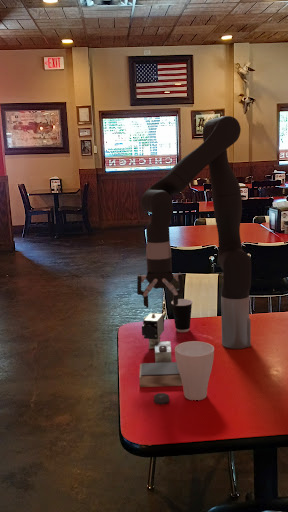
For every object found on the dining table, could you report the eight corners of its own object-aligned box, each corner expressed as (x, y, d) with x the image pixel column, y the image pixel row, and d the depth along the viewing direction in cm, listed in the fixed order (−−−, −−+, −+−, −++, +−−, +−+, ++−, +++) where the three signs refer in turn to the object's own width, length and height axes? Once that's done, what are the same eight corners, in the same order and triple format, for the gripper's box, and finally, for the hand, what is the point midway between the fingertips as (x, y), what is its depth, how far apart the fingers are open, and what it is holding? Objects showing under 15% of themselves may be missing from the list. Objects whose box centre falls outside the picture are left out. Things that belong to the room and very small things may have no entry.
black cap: (168, 397, 131) (168, 392, 131) (169, 405, 127) (169, 400, 127) (154, 398, 131) (153, 393, 131) (154, 405, 127) (153, 400, 127)
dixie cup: (167, 331, 181) (166, 302, 179) (180, 325, 187) (179, 297, 185) (185, 335, 177) (184, 306, 174) (197, 328, 183) (196, 300, 180)
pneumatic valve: (165, 341, 171) (164, 308, 169) (156, 354, 160) (155, 319, 158) (150, 340, 173) (149, 308, 171) (140, 353, 162) (139, 318, 160)
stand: (180, 372, 146) (180, 361, 146) (182, 385, 137) (181, 374, 137) (140, 373, 147) (140, 362, 146) (139, 387, 138) (139, 375, 137)
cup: (175, 387, 137) (173, 341, 134) (212, 386, 136) (212, 340, 134) (176, 405, 126) (175, 356, 124) (217, 404, 126) (216, 355, 123)
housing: (155, 356, 159) (154, 338, 158) (170, 355, 159) (170, 338, 158) (155, 367, 151) (154, 349, 149) (171, 367, 150) (171, 348, 149)
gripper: (181, 252, 152) (183, 302, 155) (135, 254, 152) (138, 304, 155) (182, 257, 144) (184, 309, 147) (135, 259, 145) (137, 311, 148)
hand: (160, 306), depth 151 cm, fingers open, 8 cm apart
